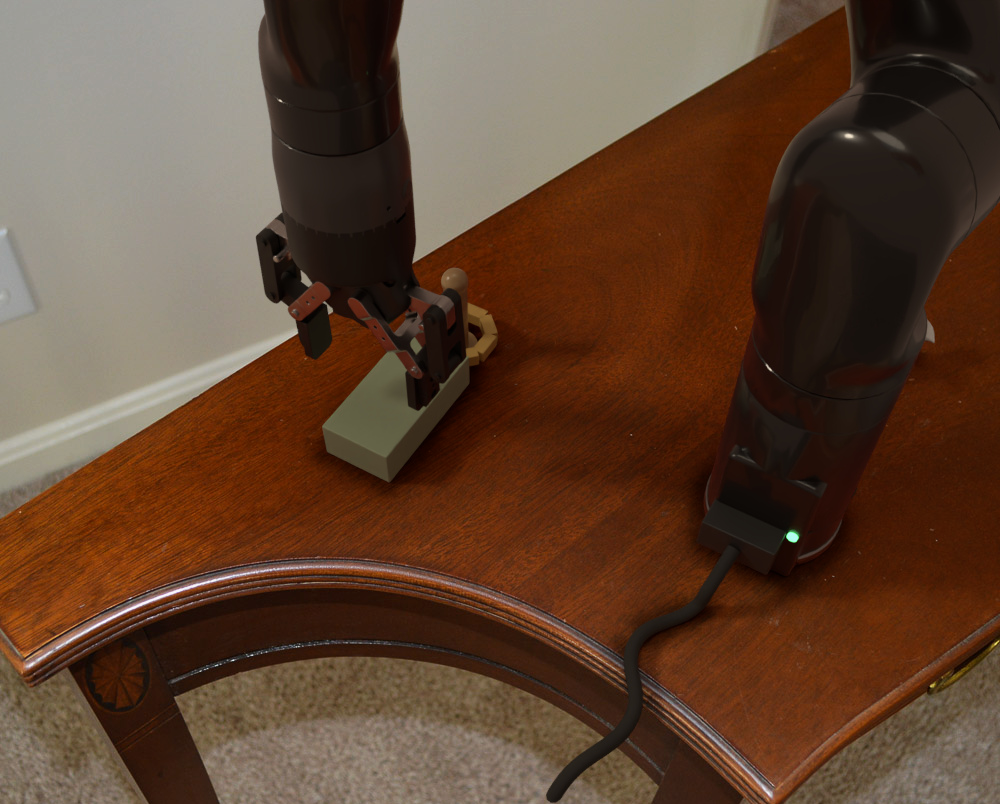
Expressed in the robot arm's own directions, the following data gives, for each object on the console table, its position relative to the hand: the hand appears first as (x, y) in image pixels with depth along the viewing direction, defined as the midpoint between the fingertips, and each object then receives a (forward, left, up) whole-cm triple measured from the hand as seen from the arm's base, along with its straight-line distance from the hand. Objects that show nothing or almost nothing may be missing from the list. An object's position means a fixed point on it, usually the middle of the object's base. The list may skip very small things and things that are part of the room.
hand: (370, 375), depth 75 cm
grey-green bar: (+5, 0, -7) cm, 8 cm away
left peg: (+10, 0, -7) cm, 12 cm away
